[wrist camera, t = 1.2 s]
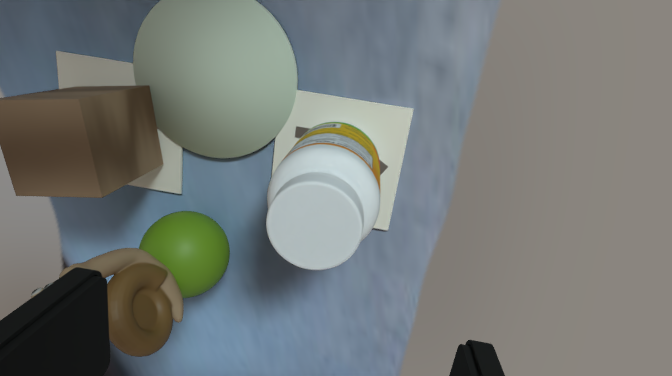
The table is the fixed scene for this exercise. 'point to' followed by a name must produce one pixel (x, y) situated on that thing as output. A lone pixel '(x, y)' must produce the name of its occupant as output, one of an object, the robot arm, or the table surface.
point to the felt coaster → (216, 74)
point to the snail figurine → (158, 278)
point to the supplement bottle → (324, 196)
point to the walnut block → (79, 140)
